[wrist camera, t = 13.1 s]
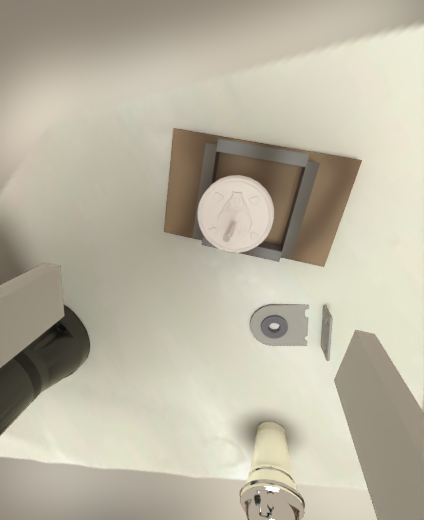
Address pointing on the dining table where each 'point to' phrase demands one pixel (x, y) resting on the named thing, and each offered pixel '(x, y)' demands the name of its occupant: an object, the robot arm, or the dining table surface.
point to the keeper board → (273, 180)
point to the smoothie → (236, 214)
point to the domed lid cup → (271, 479)
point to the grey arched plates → (288, 326)
